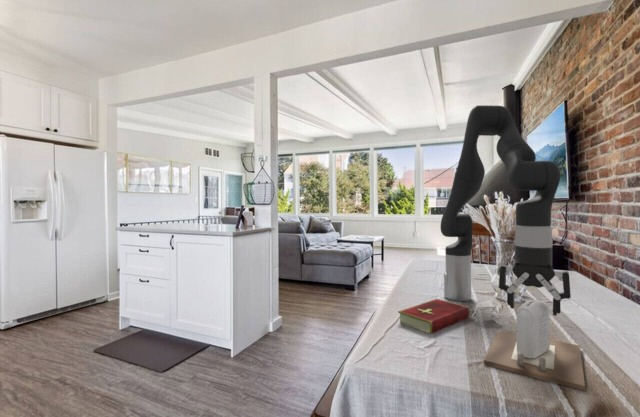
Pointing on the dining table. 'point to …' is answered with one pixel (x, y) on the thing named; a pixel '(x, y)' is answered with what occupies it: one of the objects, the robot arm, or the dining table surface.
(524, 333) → the photo printer
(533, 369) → the walnut dock
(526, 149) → the robot arm
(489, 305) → the white arched piece
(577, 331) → the dining table surface
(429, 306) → the hardcover book
